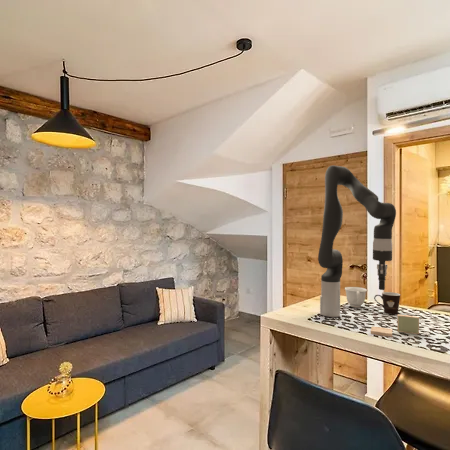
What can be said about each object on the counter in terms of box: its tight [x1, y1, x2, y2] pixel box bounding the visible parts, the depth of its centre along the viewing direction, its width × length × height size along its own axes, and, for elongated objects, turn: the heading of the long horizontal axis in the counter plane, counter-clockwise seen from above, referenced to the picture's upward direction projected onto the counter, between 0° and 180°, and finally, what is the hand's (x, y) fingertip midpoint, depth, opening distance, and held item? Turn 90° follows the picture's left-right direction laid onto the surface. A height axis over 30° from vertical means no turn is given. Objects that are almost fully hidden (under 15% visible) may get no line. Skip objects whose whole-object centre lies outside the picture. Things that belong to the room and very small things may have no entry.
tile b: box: [396, 313, 420, 335], centre depth 138 cm, size 8×2×7 cm, turn 63°
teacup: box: [344, 286, 368, 309], centre depth 180 cm, size 12×15×10 cm
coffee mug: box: [373, 291, 401, 315], centre depth 170 cm, size 12×9×10 cm
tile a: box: [370, 326, 393, 338], centre depth 137 cm, size 8×2×7 cm
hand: (381, 289), depth 138 cm, fingers closed
